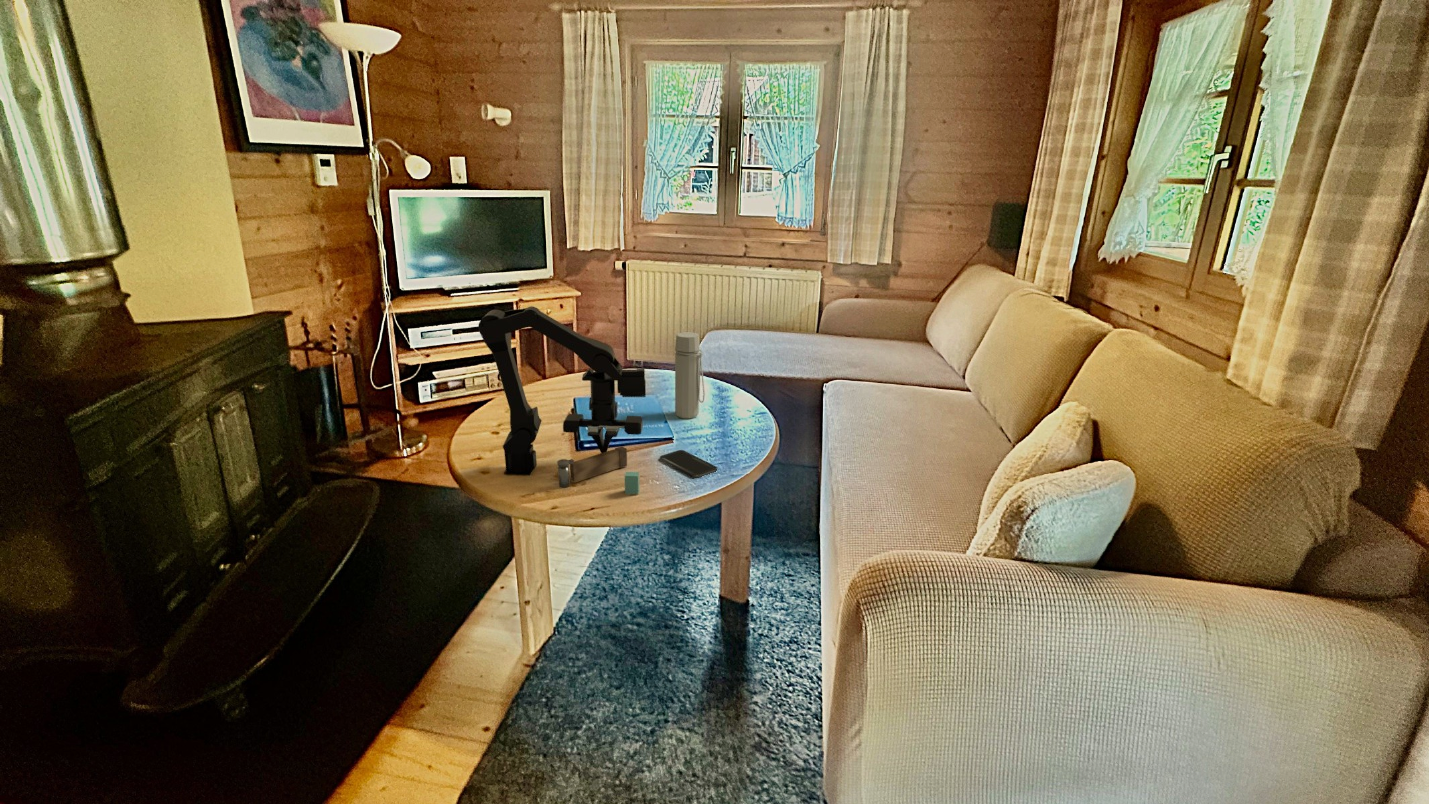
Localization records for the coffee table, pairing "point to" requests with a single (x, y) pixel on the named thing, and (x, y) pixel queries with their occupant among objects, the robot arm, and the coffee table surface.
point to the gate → (595, 464)
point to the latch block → (631, 482)
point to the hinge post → (564, 477)
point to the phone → (688, 464)
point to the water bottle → (687, 375)
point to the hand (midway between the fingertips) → (604, 456)
